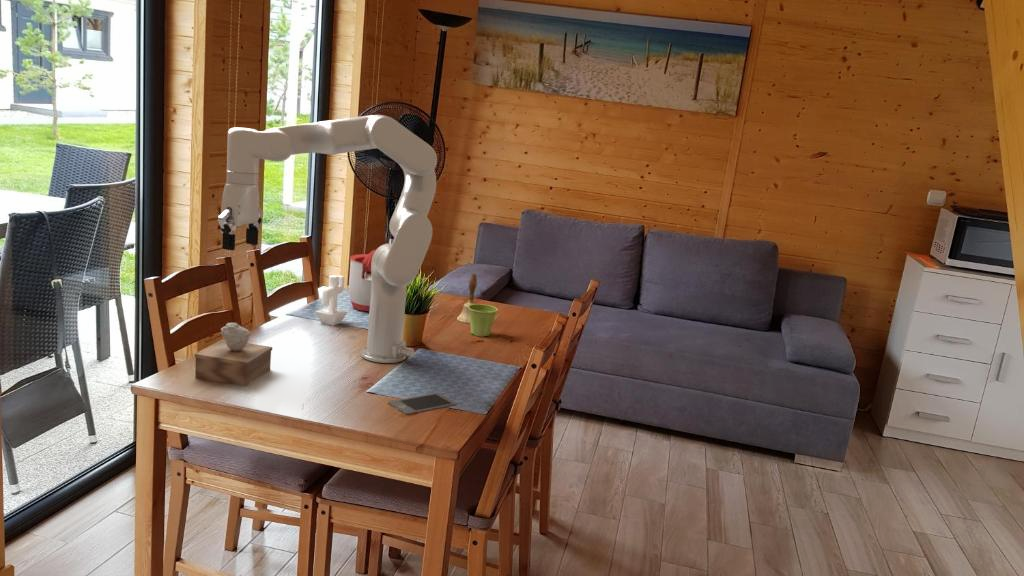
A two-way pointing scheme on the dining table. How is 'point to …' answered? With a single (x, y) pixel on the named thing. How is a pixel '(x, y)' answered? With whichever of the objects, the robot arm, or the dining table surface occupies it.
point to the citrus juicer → (360, 281)
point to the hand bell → (465, 313)
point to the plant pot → (481, 319)
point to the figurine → (332, 302)
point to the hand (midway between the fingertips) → (240, 246)
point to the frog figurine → (235, 336)
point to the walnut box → (232, 363)
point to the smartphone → (421, 403)
